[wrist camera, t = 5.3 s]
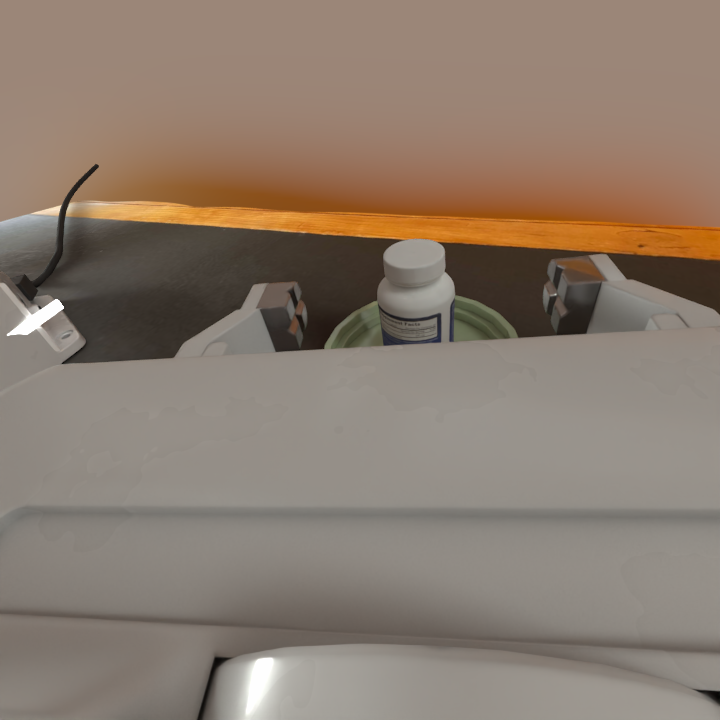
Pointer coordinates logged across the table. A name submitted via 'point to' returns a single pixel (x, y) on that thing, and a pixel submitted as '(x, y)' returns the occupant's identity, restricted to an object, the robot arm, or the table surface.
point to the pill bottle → (416, 294)
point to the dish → (468, 325)
